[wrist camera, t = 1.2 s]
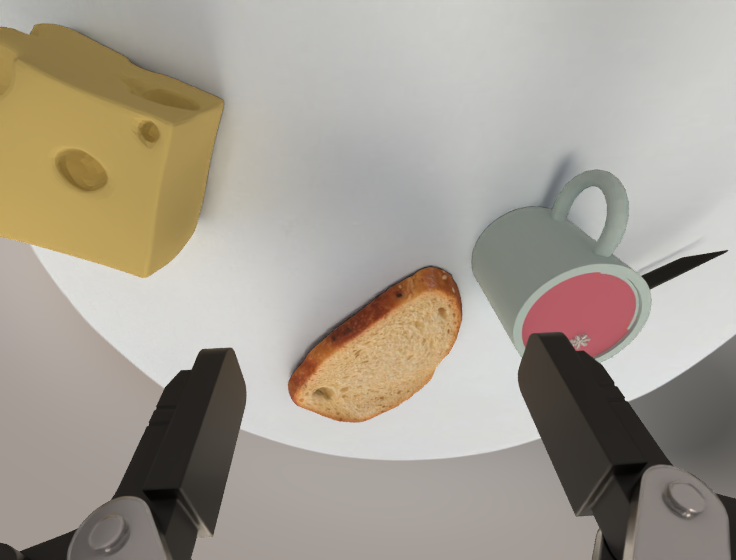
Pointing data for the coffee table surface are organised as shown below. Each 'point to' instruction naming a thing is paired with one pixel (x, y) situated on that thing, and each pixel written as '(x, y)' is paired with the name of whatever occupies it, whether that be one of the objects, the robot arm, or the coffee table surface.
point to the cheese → (99, 151)
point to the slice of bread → (382, 350)
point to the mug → (564, 273)
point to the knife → (677, 268)
